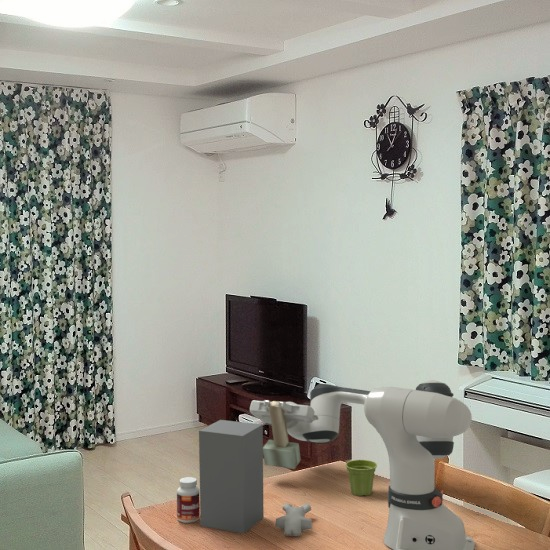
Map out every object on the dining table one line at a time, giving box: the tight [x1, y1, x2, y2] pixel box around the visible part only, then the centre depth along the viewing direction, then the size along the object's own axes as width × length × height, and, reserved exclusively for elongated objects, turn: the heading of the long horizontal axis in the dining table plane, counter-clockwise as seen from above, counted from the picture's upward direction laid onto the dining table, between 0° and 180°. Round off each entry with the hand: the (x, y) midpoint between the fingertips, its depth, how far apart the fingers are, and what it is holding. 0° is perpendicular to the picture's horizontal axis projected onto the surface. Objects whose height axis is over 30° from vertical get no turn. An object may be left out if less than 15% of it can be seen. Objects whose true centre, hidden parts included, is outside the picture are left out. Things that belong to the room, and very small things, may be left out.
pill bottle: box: [176, 476, 200, 524], centre depth 218 cm, size 6×6×11 cm
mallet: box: [263, 400, 302, 470], centre depth 243 cm, size 10×20×5 cm
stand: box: [198, 419, 265, 535], centre depth 215 cm, size 13×12×26 cm
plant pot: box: [345, 459, 378, 497], centre depth 237 cm, size 9×9×9 cm
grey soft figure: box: [275, 502, 313, 537], centre depth 212 cm, size 10×5×15 cm
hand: (273, 403), depth 239 cm, fingers closed on mallet, 3 cm apart
